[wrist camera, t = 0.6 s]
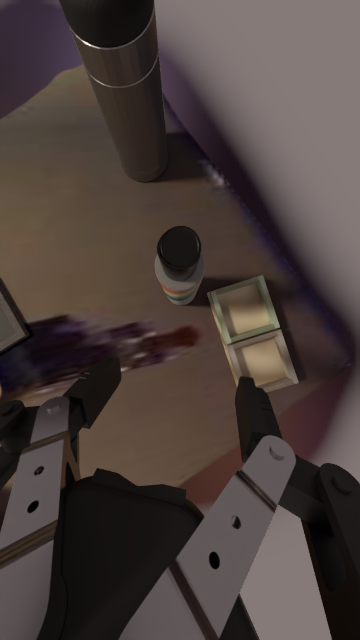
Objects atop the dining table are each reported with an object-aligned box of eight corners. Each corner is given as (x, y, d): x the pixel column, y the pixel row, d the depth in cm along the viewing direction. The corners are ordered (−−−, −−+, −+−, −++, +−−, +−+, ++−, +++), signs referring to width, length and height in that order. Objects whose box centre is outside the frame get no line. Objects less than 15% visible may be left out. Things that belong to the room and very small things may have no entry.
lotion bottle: (179, 270, 35) (175, 197, 15) (202, 289, 35) (227, 241, 15) (160, 292, 35) (130, 249, 15) (183, 311, 35) (182, 293, 15)
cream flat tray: (206, 293, 35) (208, 290, 32) (256, 278, 35) (263, 273, 32) (239, 394, 34) (244, 400, 31) (289, 378, 34) (300, 383, 31)
